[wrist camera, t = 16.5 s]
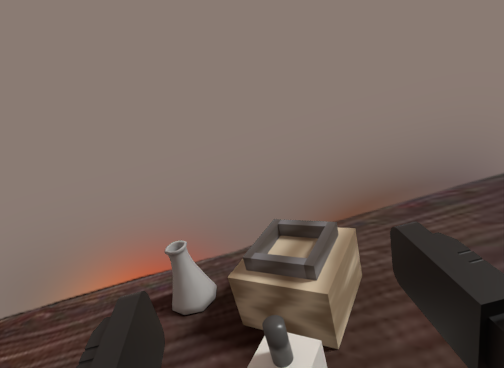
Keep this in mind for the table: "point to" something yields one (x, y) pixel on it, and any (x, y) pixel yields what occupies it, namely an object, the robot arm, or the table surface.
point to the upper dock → (300, 278)
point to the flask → (188, 281)
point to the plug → (286, 348)
